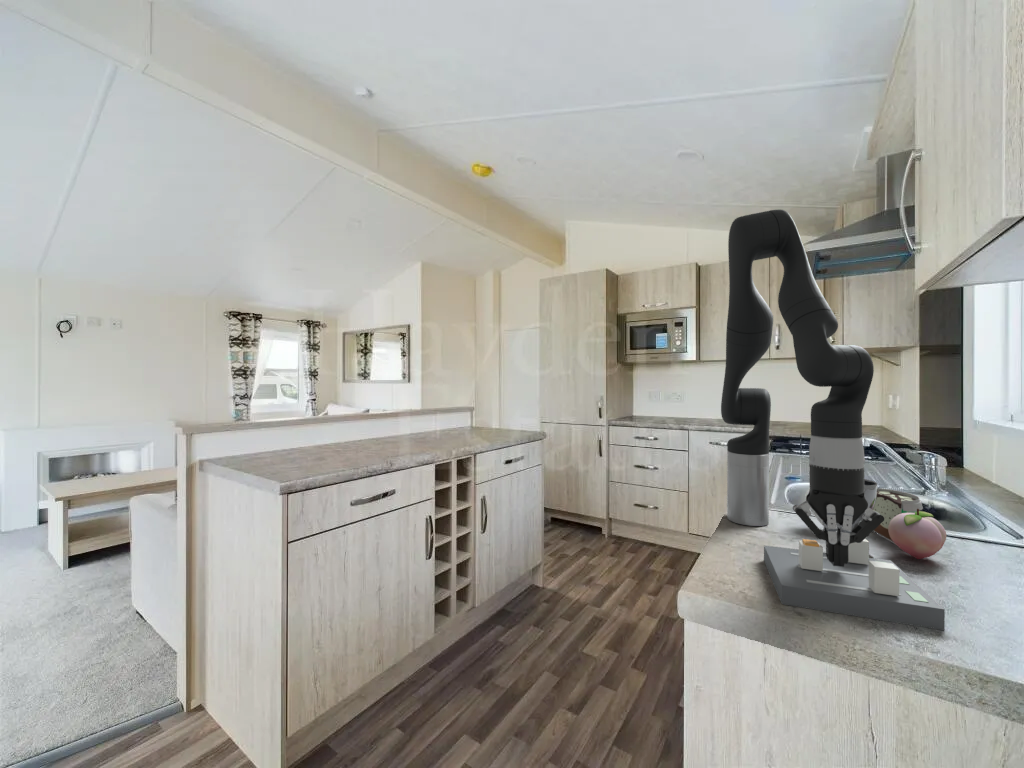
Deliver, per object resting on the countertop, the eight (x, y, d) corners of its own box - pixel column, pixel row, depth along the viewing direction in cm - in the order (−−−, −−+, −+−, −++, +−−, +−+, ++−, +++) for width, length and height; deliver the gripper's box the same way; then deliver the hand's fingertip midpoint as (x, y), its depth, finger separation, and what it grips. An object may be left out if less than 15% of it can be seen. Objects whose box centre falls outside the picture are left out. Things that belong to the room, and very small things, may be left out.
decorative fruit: (896, 546, 94) (897, 499, 94) (950, 559, 87) (950, 509, 87) (881, 557, 88) (881, 507, 88) (936, 571, 82) (937, 517, 81)
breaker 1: (843, 557, 81) (843, 535, 80) (863, 559, 79) (864, 537, 79) (848, 562, 78) (848, 539, 78) (868, 564, 77) (869, 541, 77)
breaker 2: (868, 585, 69) (868, 560, 69) (892, 589, 68) (892, 563, 68) (874, 592, 67) (874, 566, 67) (899, 596, 66) (899, 569, 66)
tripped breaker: (798, 563, 78) (798, 538, 78) (818, 565, 77) (819, 540, 77) (801, 568, 76) (802, 542, 76) (822, 571, 75) (822, 545, 75)
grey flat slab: (763, 560, 87) (763, 544, 87) (890, 577, 79) (890, 559, 79) (781, 604, 70) (781, 584, 70) (944, 630, 63) (944, 608, 63)
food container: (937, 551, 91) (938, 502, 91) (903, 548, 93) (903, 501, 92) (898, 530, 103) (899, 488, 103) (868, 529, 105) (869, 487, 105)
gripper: (875, 461, 76) (876, 561, 76) (786, 457, 81) (787, 551, 81) (894, 469, 69) (895, 580, 69) (795, 464, 74) (796, 568, 74)
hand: (836, 564), depth 75 cm, fingers closed
